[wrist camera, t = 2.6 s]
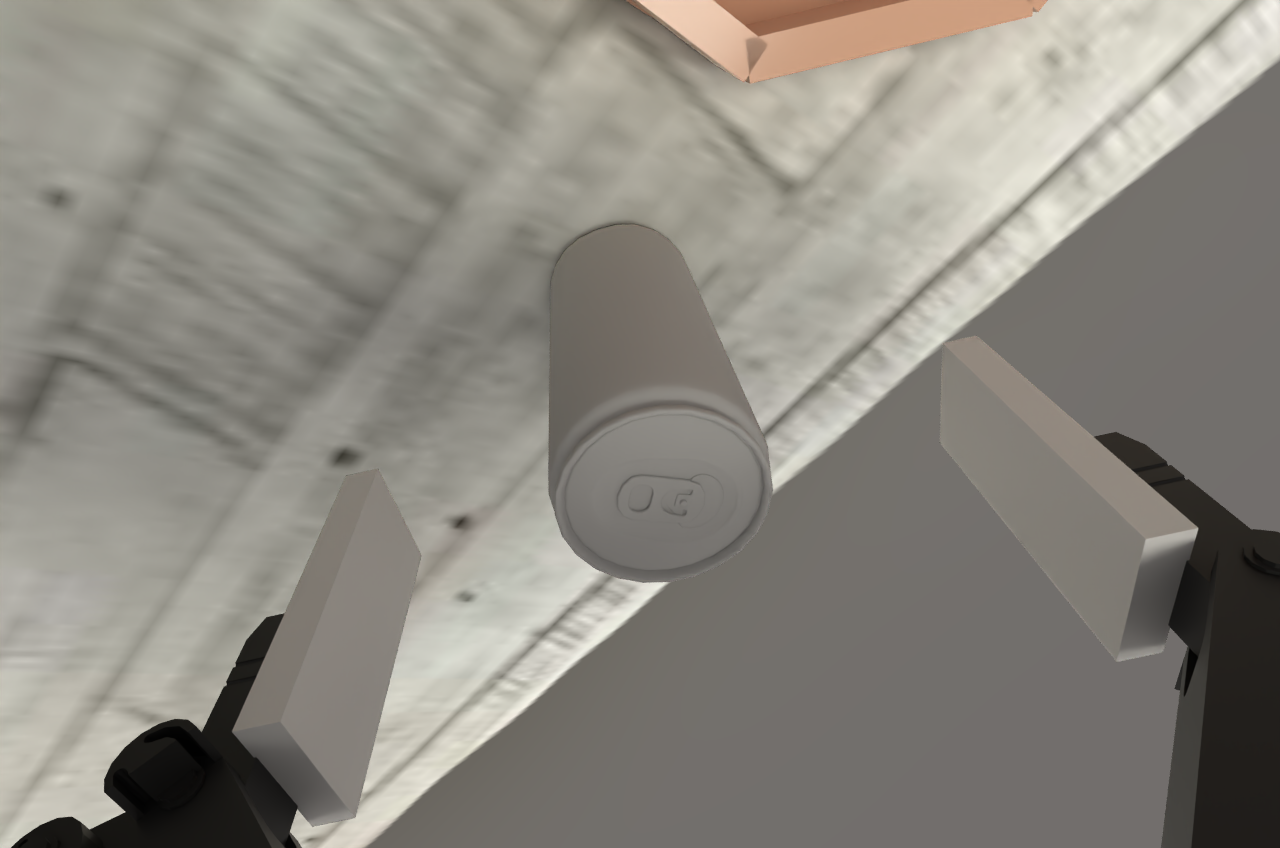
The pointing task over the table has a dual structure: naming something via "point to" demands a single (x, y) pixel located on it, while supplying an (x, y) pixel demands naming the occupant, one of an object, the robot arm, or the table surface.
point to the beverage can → (646, 415)
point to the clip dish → (818, 28)
